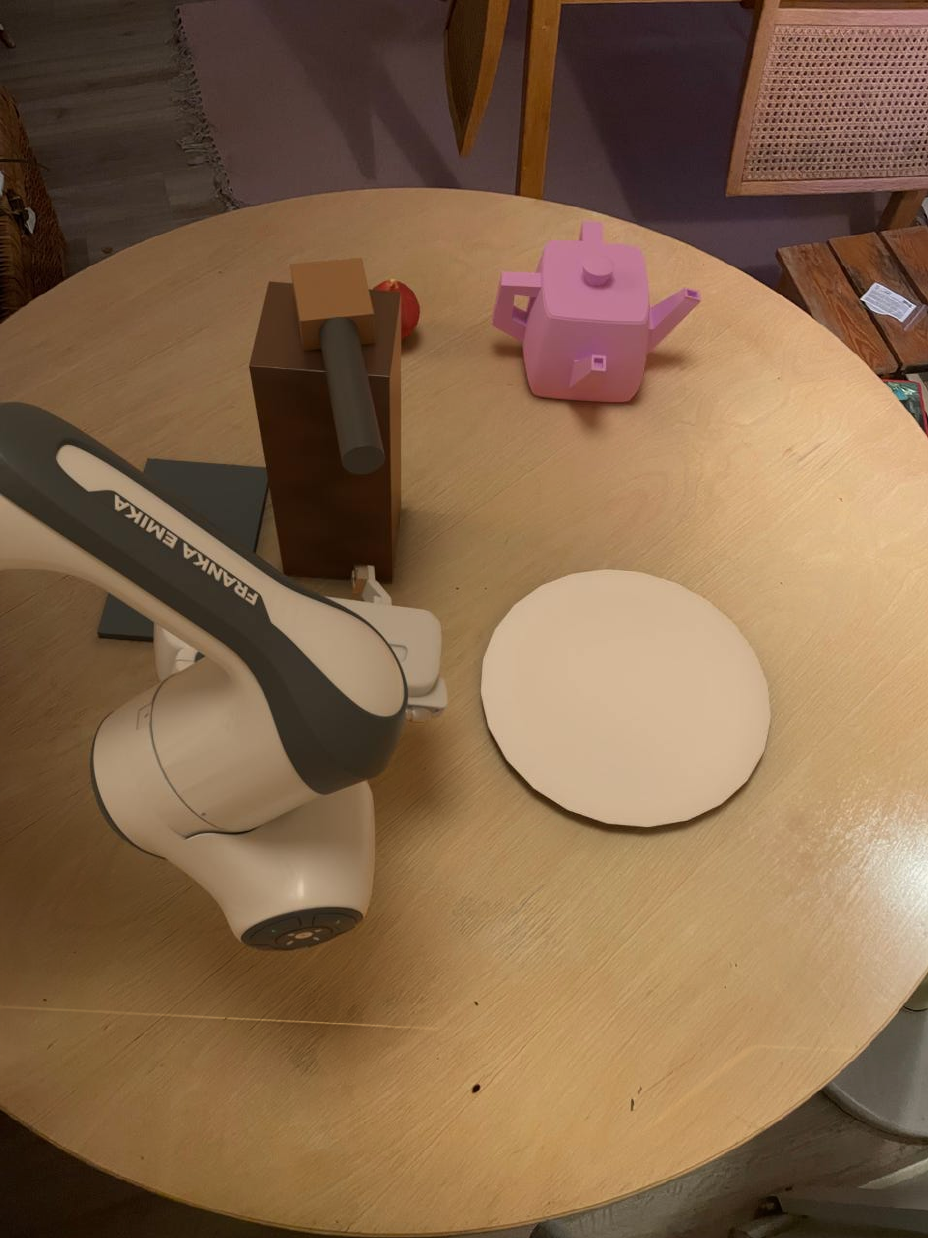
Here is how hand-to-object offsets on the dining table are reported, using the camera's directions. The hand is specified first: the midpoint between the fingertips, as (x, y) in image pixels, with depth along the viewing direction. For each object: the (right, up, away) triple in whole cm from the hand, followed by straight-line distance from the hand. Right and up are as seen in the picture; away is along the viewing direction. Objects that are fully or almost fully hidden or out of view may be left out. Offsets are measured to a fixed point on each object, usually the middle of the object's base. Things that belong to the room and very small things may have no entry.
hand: (301, 561), depth 78 cm
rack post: (+1, +3, +20) cm, 20 cm away
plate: (+26, -11, +12) cm, 31 cm away
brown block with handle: (+4, +13, -5) cm, 14 cm away
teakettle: (+25, +24, +34) cm, 49 cm away
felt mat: (-13, +2, +18) cm, 22 cm away
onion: (+4, +26, +34) cm, 43 cm away
